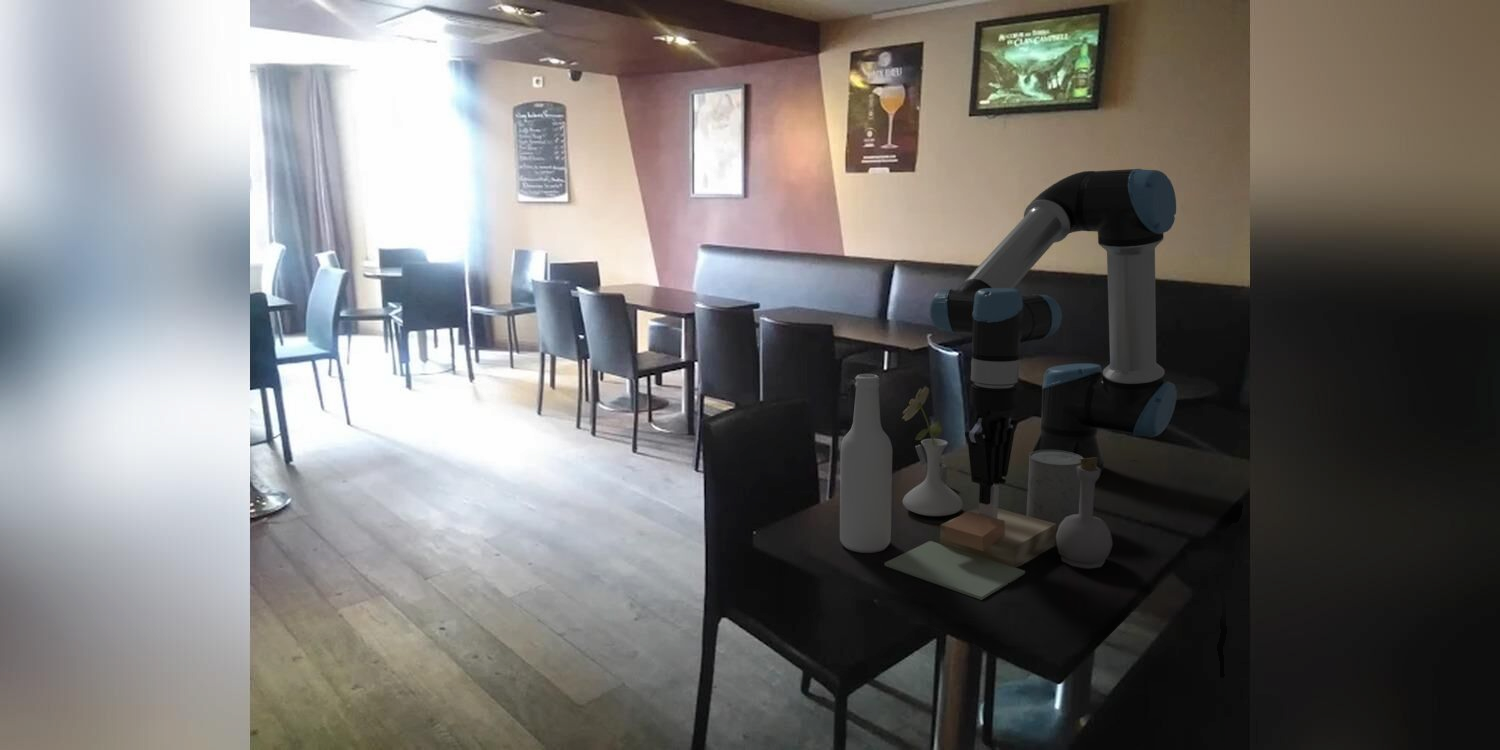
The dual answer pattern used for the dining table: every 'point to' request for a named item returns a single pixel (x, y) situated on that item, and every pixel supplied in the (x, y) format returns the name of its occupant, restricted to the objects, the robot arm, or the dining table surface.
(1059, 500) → the white cylinder
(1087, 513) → the potion bottle
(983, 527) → the terracotta tile
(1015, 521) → the birch board
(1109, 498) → the dining table surface
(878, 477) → the alcohol
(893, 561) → the rubber mat
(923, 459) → the lighter
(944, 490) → the flower in vase
